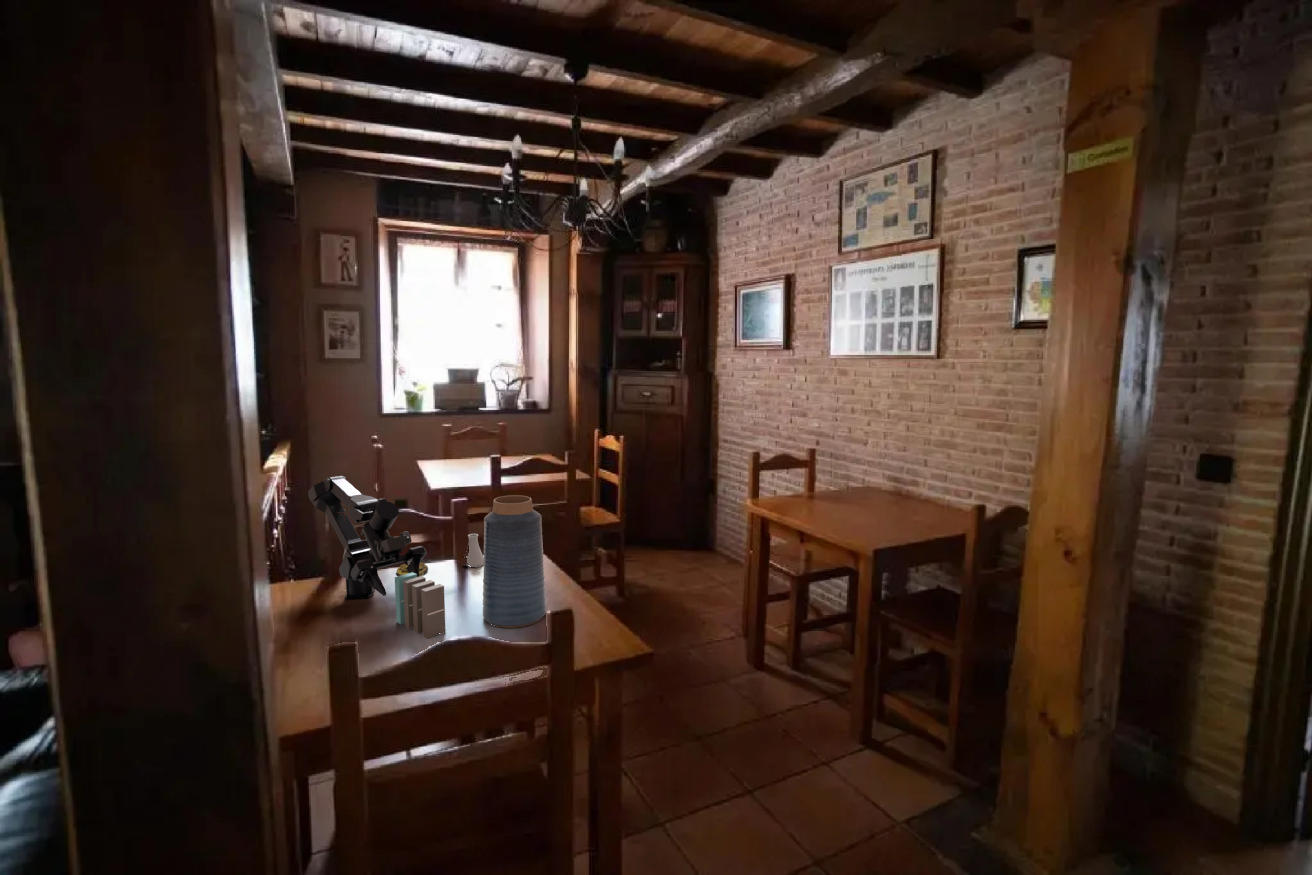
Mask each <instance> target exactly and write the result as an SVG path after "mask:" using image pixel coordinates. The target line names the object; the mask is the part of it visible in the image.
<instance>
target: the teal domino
mask: <svg viewBox="0 0 1312 875" xmlns="http://www.w3.org/2000/svg"><path fill="white" fill-rule="evenodd" d="M416 577H417V574H415V573H413V572H412V573H409V574H405V575H402V576H398V575H397V576H395V577H394V595H395V615H396V617H395V618H396V619H395V620H396V624H399V625H403V624H405V614H404V591H403V581H406V580H409V579H413V578H416Z"/></svg>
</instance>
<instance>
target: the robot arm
mask: <svg viewBox="0 0 1312 875" xmlns="http://www.w3.org/2000/svg"><path fill="white" fill-rule="evenodd" d="M307 494H308V498H309V501H310V502H311V503H312V505H313V506H314V508H316V509H317V510H318V511H320V512H323V513H325V515H326V517H327V518H328V521H329V523H330V525H331V527H332V528H333V531H334V532H335V534H336V536H337V538H338V539H339V541H340V543H341V545H342V547H343V549H344V552H343V556H342V562H341V564H340V565H339V568H338V571H339V575H340V577H342V578H343V579H345V590H346V595H345V596H344V599H345V600H347V599H348V600H350V599H351V600H353V599H354V600H356V599H369V598H370V597H371V596H372V594H374V592H375V591H376V592H378V593H379V594H381V595H382V596H383V597H385V596H386V595H387V592H386V589H385V586H384V584H383V582H382V580H381V578H380V576H379V573H378V570H379V569H383V568H387V567H389V566H391V567H392V566H395V565H399V564H401V563H404V564H405V565H407V566H408V567H407V568H406V569H407V571H408V572H409V573H412V572H413V573H415V574H417V577H419V563H422V561H423V560H424V558H425V557H426V555H427V554H428V552H427V549H426V548H425V547H424V546H422V545H418V546H415V547H410V548H408V550H407V552H406V553H405V554H401V553H403V548H407V547H408V546H407V545H409V544H410V543H412V542H413V540H412V537H411V535H410V533H409V531H408V530H407V531H403V532H401V533H399V535H398V536H394V535H391V534H390V532H389V529H391V527H392V526H393V524H394V523H395V521H396V519H397V517H398V516H399V513H400V510H399V507H398V506H397V505H396V504H394V503H393V502H390V501H388V500H387V498H379V499H377V498H376V497H374V496H372V495H371V496H370V495H365V494H363V493H361V492H360V491H359V490H358V489H357V488H355V487H354V485H353V484H352V483H350V482H349V481H348V480H347V478H346V476H344V475H336V476H330V477H329V476H328V477H327V478H324V480H322V481H321V482H318V483H316V484H313V485H312V486H311V488H310V489H308V491H307ZM342 503H343V504H344V505H345V507H347V508H348V514H347V511H346V509H345V508H344V506H343V505H342ZM331 512H332V513H331ZM337 512H345V513H346V515H345V516H344V513H337ZM341 514H343V515H341ZM348 515H349V516H348ZM344 518H345V521H344ZM350 518H351V519H350ZM351 520H352V521H353V522H355V523H356V524H360V523H364V522H365V523H364V524H363V525H362V528H361V531H360V535H359V533H358V532H357V530H356V528H355V527H354V525H353V522H352V521H351ZM360 536H361V537H365V539H361V537H360ZM400 554H401V555H400Z"/></svg>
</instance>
